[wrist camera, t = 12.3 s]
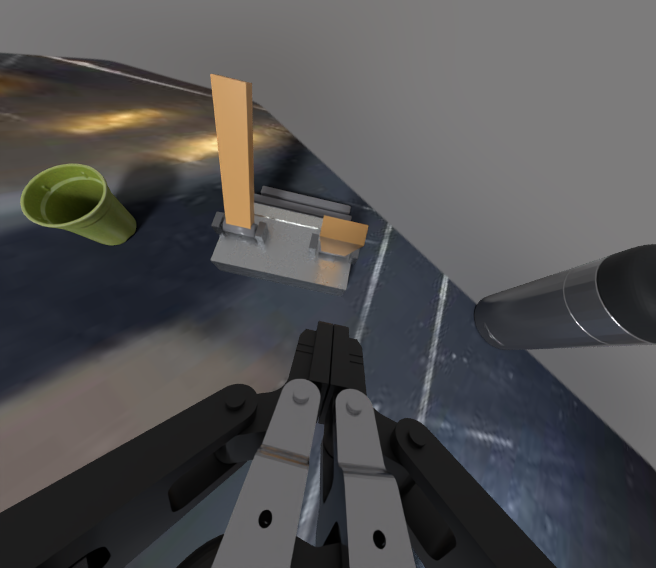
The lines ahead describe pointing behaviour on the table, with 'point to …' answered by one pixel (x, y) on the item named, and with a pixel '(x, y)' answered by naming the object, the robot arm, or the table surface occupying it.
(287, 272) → the breaker box
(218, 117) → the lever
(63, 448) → the table surface
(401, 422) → the robot arm
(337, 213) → the stepped grey slab
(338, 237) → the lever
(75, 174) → the plant pot
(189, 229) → the table surface
